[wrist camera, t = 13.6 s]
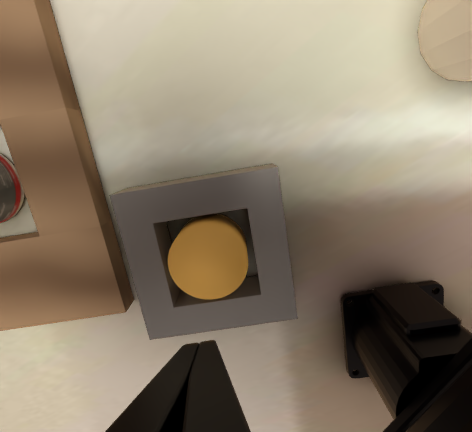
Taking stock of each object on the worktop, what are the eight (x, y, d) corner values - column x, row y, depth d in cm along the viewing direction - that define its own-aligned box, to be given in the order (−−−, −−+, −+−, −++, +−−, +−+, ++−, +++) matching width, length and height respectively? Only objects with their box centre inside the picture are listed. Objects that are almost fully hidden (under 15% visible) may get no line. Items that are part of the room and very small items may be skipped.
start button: (251, 273, 19) (253, 293, 16) (185, 283, 19) (177, 304, 16) (240, 208, 18) (241, 218, 15) (170, 219, 18) (159, 231, 15)
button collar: (290, 296, 19) (297, 318, 17) (160, 315, 20) (149, 339, 17) (272, 163, 17) (278, 166, 15) (127, 188, 18) (109, 195, 15)
